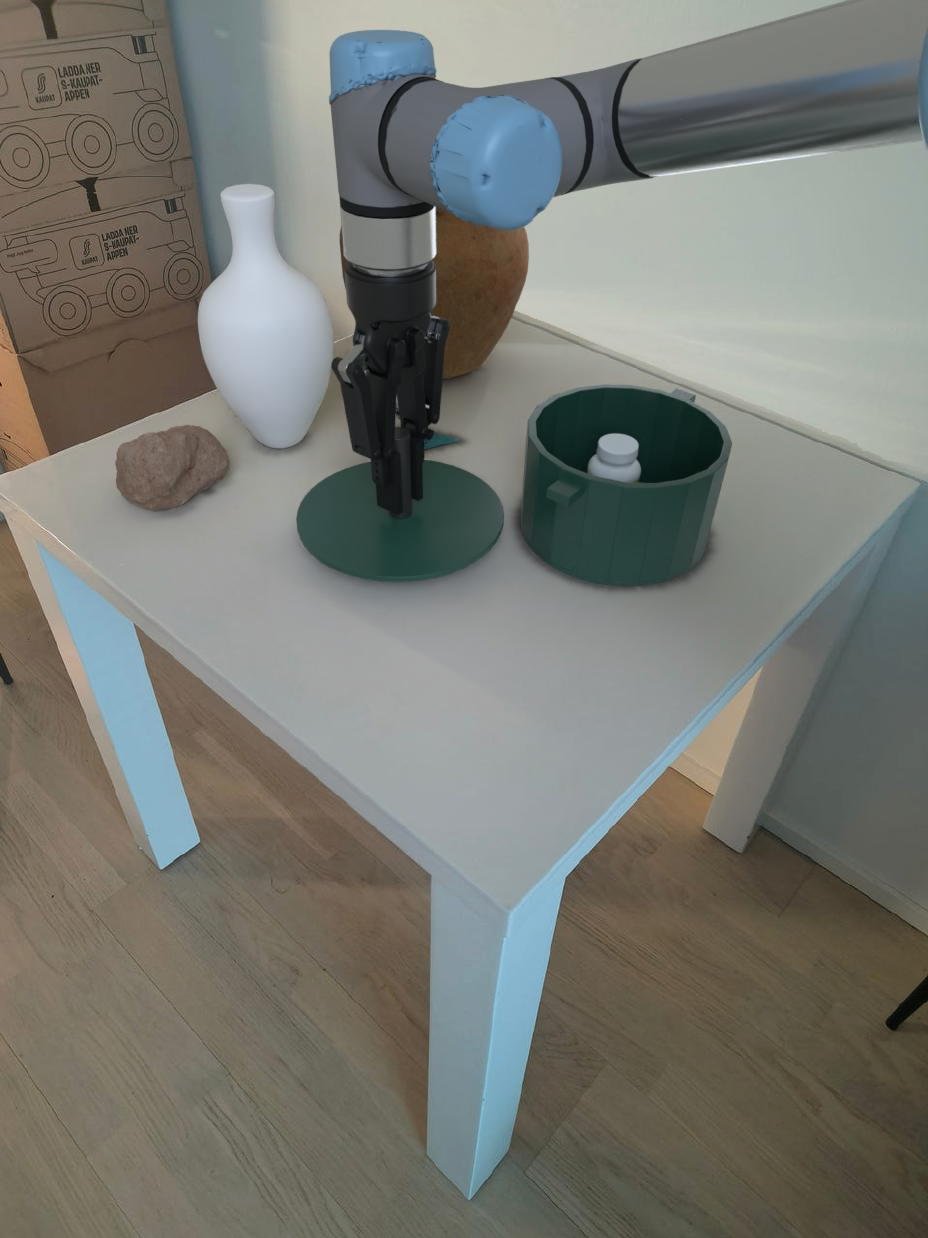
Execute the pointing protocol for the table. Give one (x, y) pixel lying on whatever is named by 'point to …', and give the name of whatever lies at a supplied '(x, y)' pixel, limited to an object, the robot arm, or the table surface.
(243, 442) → the table surface
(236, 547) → the table surface
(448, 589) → the table surface
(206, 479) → the stone
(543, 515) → the stewpot
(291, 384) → the vase
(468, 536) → the stewpot lid
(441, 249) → the pot
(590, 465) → the supplement bottle
